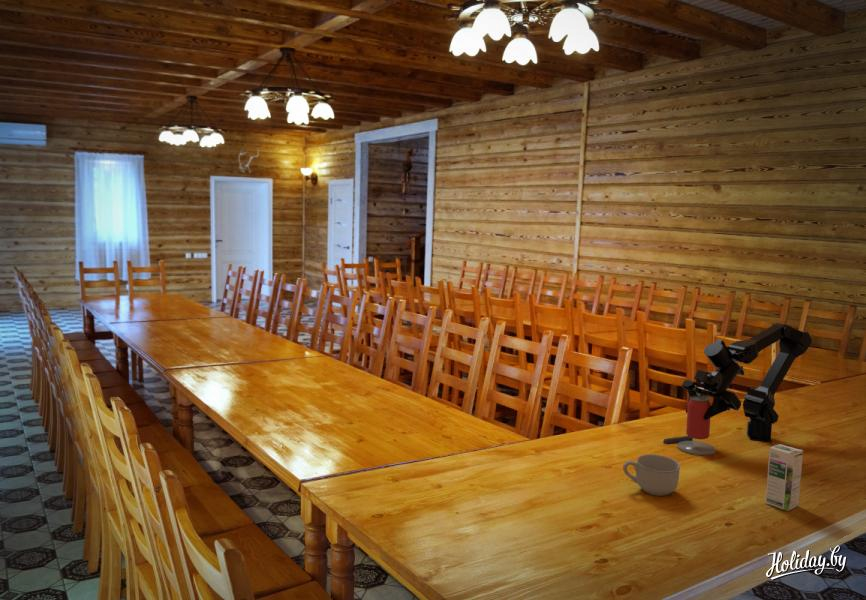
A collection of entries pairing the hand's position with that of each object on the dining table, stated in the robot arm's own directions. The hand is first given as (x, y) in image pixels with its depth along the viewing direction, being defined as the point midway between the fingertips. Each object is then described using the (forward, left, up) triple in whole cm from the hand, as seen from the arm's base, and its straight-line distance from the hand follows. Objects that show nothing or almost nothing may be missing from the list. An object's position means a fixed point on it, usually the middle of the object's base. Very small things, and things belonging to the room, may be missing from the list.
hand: (695, 415), depth 202 cm
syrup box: (-19, +35, -11) cm, 41 cm away
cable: (+4, -7, -11) cm, 14 cm away
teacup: (+12, +37, -11) cm, 41 cm away
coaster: (-1, -1, -11) cm, 11 cm away
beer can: (-1, -1, -7) cm, 7 cm away
